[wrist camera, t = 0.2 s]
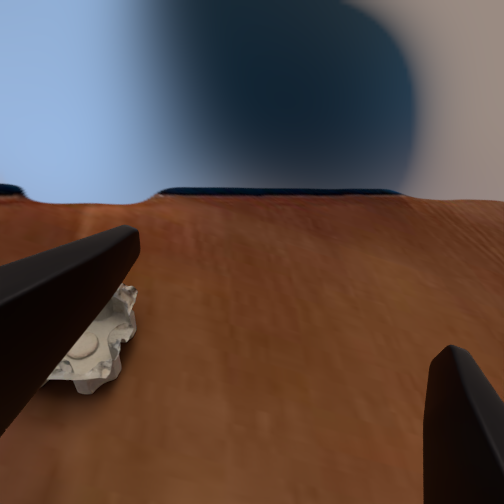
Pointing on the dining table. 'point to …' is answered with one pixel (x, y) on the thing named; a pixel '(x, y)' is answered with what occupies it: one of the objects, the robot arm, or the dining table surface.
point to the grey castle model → (100, 345)
